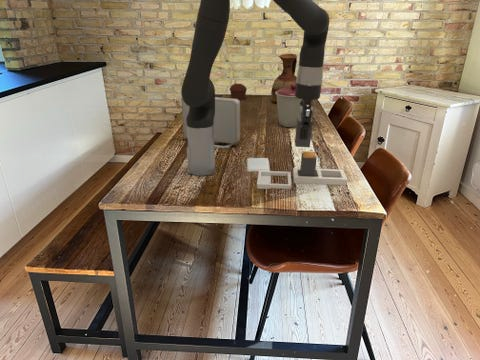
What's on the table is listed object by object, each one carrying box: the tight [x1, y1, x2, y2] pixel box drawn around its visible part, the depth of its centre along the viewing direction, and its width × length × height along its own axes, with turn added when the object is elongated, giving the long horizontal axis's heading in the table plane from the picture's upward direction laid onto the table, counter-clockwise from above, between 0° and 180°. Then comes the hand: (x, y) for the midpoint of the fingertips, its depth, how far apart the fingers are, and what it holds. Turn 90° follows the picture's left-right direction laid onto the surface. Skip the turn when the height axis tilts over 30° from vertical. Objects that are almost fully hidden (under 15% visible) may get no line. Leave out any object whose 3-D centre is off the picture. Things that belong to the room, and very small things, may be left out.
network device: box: [180, 96, 241, 149], centre depth 152 cm, size 26×9×20 cm, turn 68°
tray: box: [256, 170, 292, 190], centre depth 118 cm, size 11×11×2 cm
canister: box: [275, 83, 302, 129], centre depth 178 cm, size 18×18×21 cm
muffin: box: [229, 83, 248, 102], centre depth 236 cm, size 12×11×10 cm
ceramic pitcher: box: [270, 53, 298, 103], centre depth 223 cm, size 20×20×30 cm
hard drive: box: [246, 157, 271, 173], centre depth 132 cm, size 2×8×12 cm
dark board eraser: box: [294, 115, 314, 148], centre depth 112 cm, size 4×4×9 cm
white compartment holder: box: [292, 167, 348, 186], centre depth 120 cm, size 17×8×3 cm, turn 84°
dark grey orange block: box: [300, 150, 317, 177], centre depth 118 cm, size 4×4×9 cm
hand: (302, 136), depth 113 cm, fingers closed on dark board eraser, 4 cm apart
